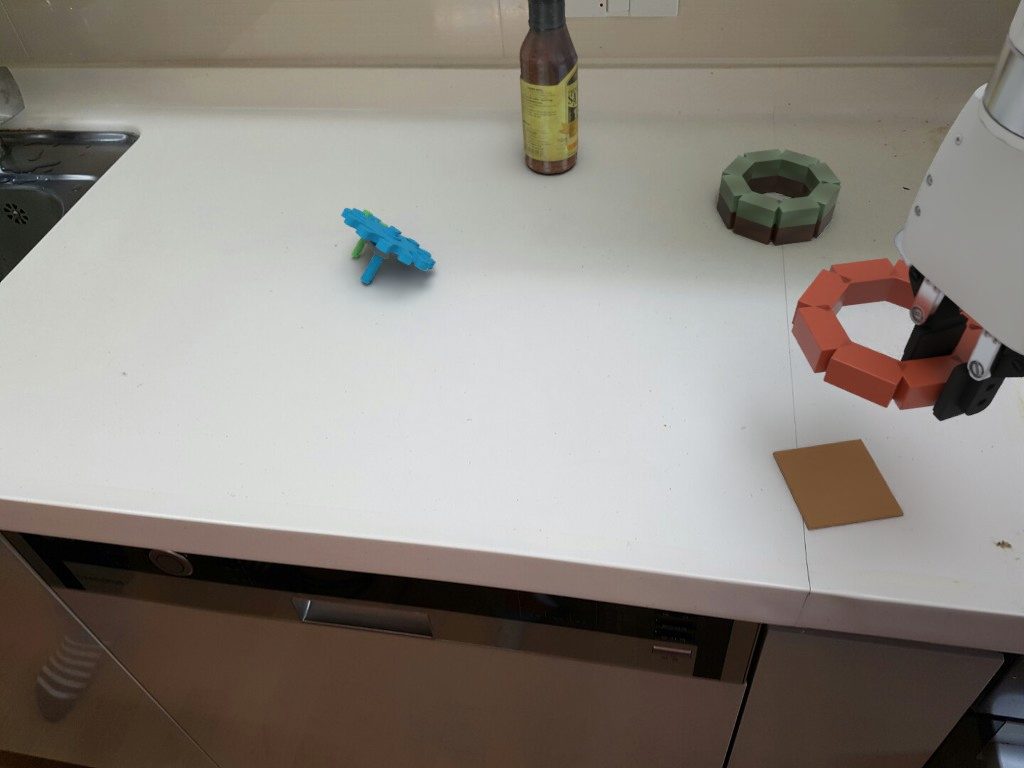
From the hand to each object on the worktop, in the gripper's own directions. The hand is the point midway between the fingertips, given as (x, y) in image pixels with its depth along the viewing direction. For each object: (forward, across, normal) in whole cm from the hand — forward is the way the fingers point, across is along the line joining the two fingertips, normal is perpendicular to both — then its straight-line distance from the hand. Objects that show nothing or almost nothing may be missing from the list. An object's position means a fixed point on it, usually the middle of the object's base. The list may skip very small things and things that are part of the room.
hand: (938, 389), depth 46 cm
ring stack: (+14, +36, -14) cm, 41 cm away
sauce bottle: (+15, +54, +3) cm, 57 cm away
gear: (+15, +42, +25) cm, 51 cm away
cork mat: (+14, +4, 0) cm, 15 cm away
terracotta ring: (0, +4, 0) cm, 5 cm away
